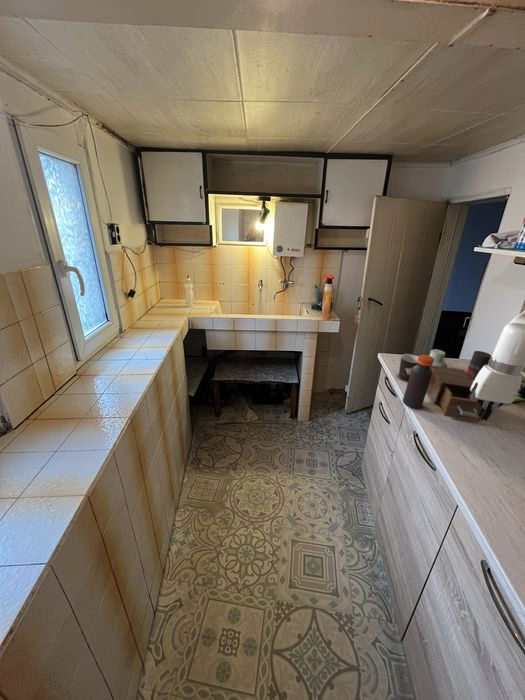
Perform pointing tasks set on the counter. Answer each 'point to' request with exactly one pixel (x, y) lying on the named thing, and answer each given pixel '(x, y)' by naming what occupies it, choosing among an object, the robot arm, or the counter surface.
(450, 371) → the cabinet
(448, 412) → the drawer
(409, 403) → the bottle
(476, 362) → the deodorant
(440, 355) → the air freshener
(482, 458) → the counter surface
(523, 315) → the robot arm
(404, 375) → the coffee mug
